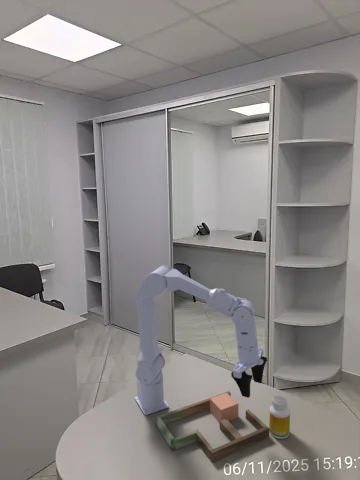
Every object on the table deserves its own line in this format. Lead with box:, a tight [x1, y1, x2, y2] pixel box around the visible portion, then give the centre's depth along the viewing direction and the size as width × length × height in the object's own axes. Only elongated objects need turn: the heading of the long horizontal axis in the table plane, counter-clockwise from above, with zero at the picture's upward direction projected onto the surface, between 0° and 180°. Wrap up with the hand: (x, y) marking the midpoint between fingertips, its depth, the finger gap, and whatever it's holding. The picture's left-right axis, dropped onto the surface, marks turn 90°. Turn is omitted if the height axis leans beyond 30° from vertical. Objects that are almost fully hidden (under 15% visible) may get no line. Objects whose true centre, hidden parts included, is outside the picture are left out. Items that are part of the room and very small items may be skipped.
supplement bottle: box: [268, 395, 291, 440], centre depth 95 cm, size 5×5×10 cm
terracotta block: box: [209, 392, 239, 423], centre depth 103 cm, size 6×6×4 cm
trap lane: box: [155, 391, 270, 463], centre depth 97 cm, size 19×25×2 cm
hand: (252, 389), depth 98 cm, fingers open, 7 cm apart
